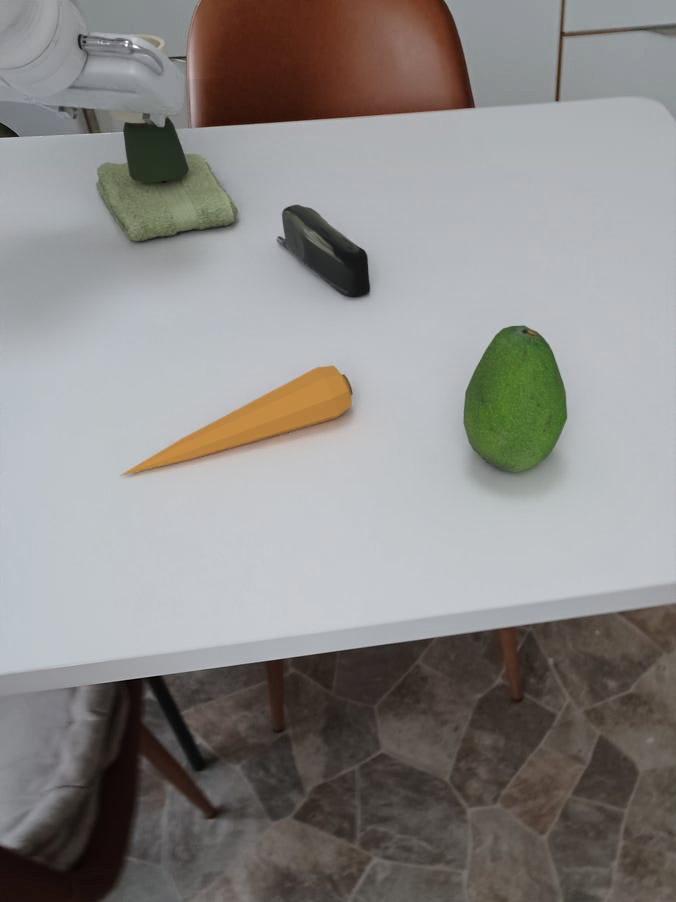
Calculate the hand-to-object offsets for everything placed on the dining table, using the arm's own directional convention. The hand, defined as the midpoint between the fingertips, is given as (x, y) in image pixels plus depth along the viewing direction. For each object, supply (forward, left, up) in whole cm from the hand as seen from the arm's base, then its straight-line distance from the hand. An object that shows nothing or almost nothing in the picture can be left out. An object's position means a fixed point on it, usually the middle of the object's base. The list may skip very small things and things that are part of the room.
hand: (114, 115), depth 96 cm
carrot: (+11, -39, -12) cm, 43 cm away
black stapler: (+19, -11, -12) cm, 25 cm away
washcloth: (+2, +6, -12) cm, 13 cm away
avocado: (+33, -45, -12) cm, 57 cm away
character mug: (+2, +5, -9) cm, 10 cm away
